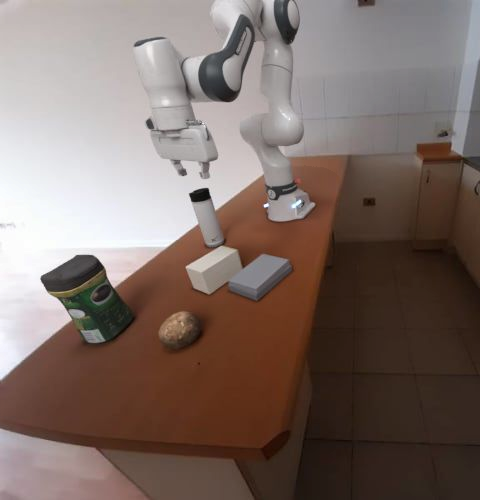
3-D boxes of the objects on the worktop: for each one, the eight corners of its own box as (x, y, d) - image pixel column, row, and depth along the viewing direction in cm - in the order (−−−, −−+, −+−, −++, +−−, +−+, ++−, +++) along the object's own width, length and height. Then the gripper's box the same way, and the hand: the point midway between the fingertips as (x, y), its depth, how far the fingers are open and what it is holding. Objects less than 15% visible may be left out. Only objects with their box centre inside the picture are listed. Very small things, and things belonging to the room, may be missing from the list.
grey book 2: (266, 262, 86) (265, 257, 85) (292, 270, 81) (291, 265, 80) (229, 290, 75) (227, 285, 74) (257, 301, 70) (255, 295, 69)
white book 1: (226, 258, 85) (224, 252, 83) (241, 263, 82) (239, 256, 80) (191, 281, 75) (188, 274, 74) (206, 287, 72) (204, 280, 71)
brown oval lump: (174, 311, 64) (167, 303, 58) (209, 319, 65) (205, 313, 60) (156, 346, 60) (147, 342, 55) (194, 355, 61) (188, 351, 56)
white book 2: (228, 265, 86) (226, 258, 85) (243, 270, 83) (241, 263, 82) (193, 288, 77) (191, 281, 75) (209, 294, 74) (206, 287, 72)
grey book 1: (263, 258, 84) (262, 253, 83) (290, 264, 80) (289, 259, 80) (229, 285, 73) (227, 280, 73) (257, 294, 70) (256, 288, 69)
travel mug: (219, 248, 96) (201, 192, 86) (202, 247, 97) (183, 192, 87) (228, 239, 101) (213, 186, 91) (212, 238, 102) (195, 186, 92)
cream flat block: (224, 252, 83) (221, 245, 82) (239, 256, 80) (237, 249, 79) (188, 274, 74) (185, 266, 73) (204, 280, 71) (201, 272, 70)
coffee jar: (112, 314, 69) (72, 250, 60) (140, 315, 68) (104, 250, 59) (77, 345, 61) (24, 276, 52) (109, 346, 60) (61, 277, 51)
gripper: (215, 118, 65) (230, 176, 72) (163, 119, 74) (181, 171, 81) (192, 121, 60) (210, 183, 67) (140, 122, 69) (160, 177, 76)
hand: (194, 177), depth 74 cm, fingers open, 8 cm apart
